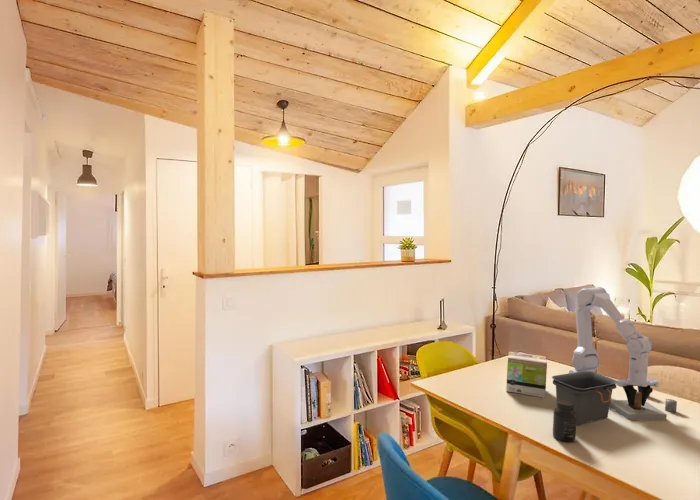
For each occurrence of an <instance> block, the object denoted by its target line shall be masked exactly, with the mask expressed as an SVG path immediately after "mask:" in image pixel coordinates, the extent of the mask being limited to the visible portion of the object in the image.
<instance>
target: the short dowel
mask: <svg viewBox="0 0 700 500" xmlns="http://www.w3.org/2000/svg"><path fill="white" fill-rule="evenodd" d="M664 406H665V407H664V411H665V412H667V413H670V414H677V407H678V401H676V400H675V399H672V398H666V399H665V404H664Z"/></svg>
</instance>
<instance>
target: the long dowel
mask: <svg viewBox="0 0 700 500" xmlns="http://www.w3.org/2000/svg"><path fill="white" fill-rule="evenodd" d="M641 405H642V393H640V392H638V391H637V392H636V395H635V400H634V406H631V405H630V407H631V408H632V409H634V410H641Z"/></svg>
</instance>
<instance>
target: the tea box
mask: <svg viewBox="0 0 700 500" xmlns="http://www.w3.org/2000/svg"><path fill="white" fill-rule="evenodd" d="M507 356H508V357H507V366H506V367H507V368H506V371H507V372H506V392H510V393H516V394H522V395H528V396H533V397H539V398H545V397H546V390H547V389H546V388H547V372H548V371H547V370H548V361H547V357H546V355H545V356H544V355H539V354H530V353H523V352H522V353H521V352H516V351H508V355H507Z"/></svg>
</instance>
